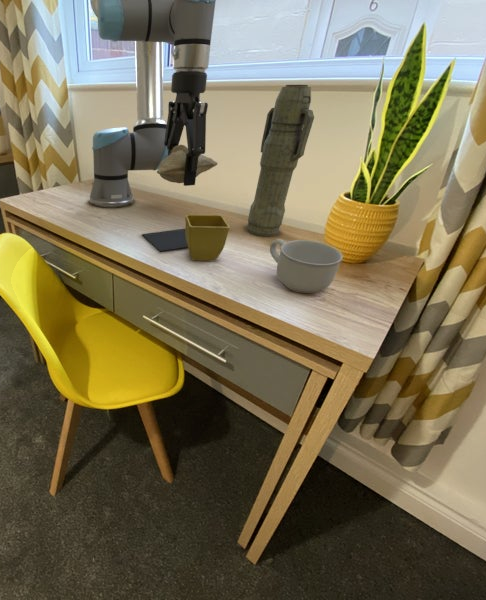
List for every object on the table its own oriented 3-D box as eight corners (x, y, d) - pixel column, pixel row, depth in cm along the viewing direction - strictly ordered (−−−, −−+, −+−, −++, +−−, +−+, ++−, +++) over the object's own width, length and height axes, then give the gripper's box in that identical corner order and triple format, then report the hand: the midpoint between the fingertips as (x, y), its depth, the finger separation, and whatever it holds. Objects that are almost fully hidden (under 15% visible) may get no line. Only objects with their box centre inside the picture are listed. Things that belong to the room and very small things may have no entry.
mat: (141, 235, 90) (141, 234, 90) (193, 228, 95) (193, 227, 95) (160, 252, 81) (160, 250, 81) (216, 244, 86) (216, 242, 85)
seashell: (165, 164, 73) (173, 126, 75) (145, 182, 81) (153, 147, 83) (215, 190, 79) (221, 154, 81) (191, 204, 87) (197, 172, 89)
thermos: (272, 240, 88) (312, 84, 69) (235, 228, 96) (263, 84, 77) (290, 233, 92) (332, 85, 74) (254, 222, 100) (284, 85, 82)
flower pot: (181, 249, 83) (185, 213, 78) (216, 249, 83) (222, 214, 78) (185, 264, 75) (189, 226, 71) (223, 265, 75) (230, 227, 70)
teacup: (341, 294, 65) (357, 257, 60) (298, 304, 61) (311, 265, 57) (290, 264, 76) (300, 231, 71) (250, 271, 73) (258, 237, 68)
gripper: (153, 73, 78) (149, 173, 90) (200, 67, 61) (187, 192, 73) (181, 74, 80) (174, 172, 92) (234, 69, 63) (216, 189, 75)
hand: (180, 180), depth 83 cm, fingers closed on seashell, 8 cm apart
